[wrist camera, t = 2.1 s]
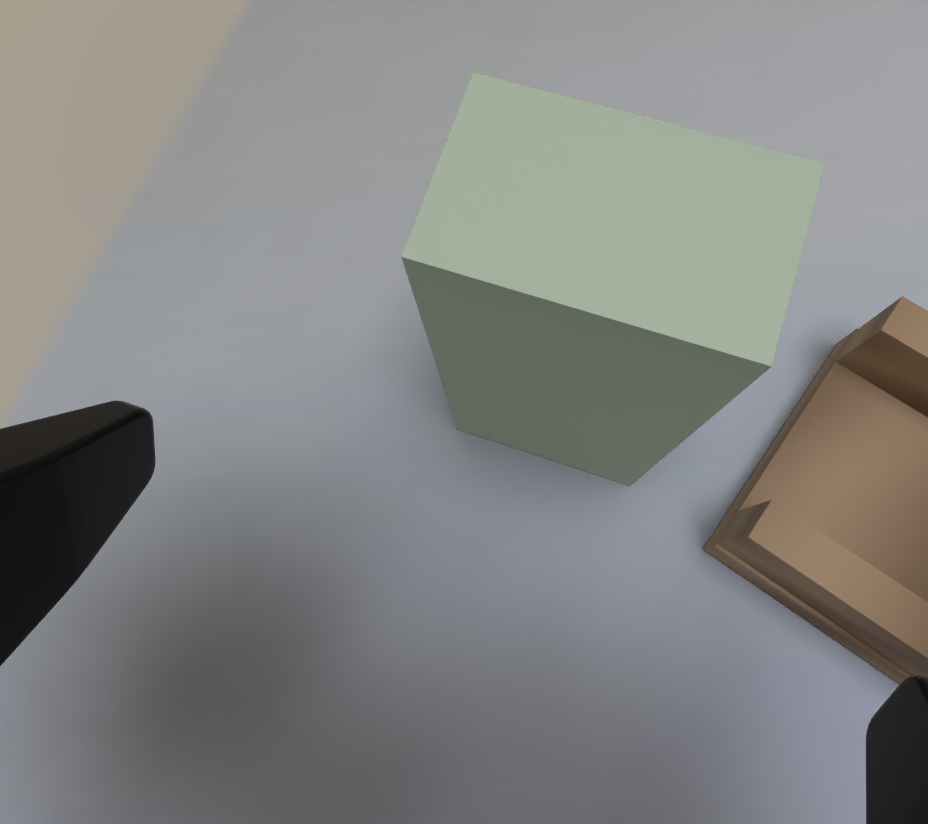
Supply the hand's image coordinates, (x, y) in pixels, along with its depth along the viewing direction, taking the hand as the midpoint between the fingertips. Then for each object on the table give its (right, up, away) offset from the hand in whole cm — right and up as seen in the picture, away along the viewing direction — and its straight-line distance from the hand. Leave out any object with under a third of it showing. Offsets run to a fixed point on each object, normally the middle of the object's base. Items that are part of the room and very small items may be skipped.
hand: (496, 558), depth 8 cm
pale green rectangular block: (+2, +2, +12) cm, 12 cm away
